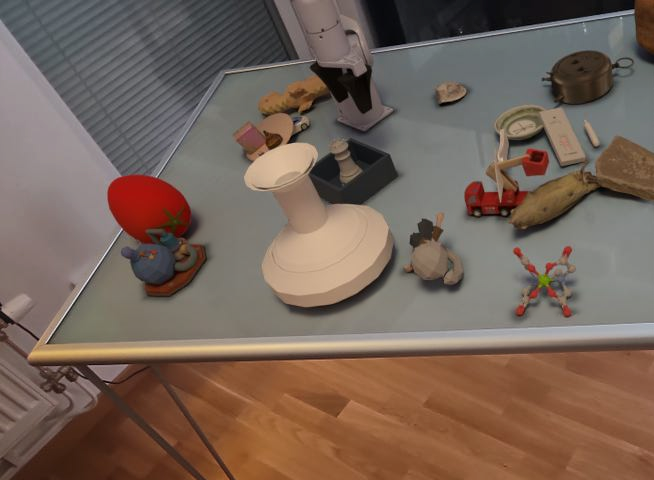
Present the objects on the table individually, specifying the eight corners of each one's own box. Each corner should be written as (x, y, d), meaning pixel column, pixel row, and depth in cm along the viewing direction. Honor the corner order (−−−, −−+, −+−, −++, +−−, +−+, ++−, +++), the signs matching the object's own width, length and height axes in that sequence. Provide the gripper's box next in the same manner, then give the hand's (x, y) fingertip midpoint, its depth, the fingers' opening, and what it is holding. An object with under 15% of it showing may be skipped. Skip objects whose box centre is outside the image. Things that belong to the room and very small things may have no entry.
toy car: (255, 148, 126) (249, 136, 124) (305, 120, 128) (300, 109, 126) (261, 154, 124) (255, 143, 122) (312, 126, 126) (307, 114, 124)
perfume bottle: (253, 172, 121) (236, 157, 117) (239, 139, 127) (223, 124, 124) (300, 135, 120) (285, 118, 116) (284, 103, 126) (269, 87, 122)
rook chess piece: (357, 191, 107) (339, 151, 101) (337, 188, 109) (319, 149, 103) (371, 175, 109) (354, 135, 103) (351, 173, 111) (333, 133, 105)
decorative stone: (710, 170, 90) (618, 166, 99) (706, 131, 85) (609, 131, 94) (683, 215, 86) (589, 206, 95) (677, 177, 81) (579, 172, 90)
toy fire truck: (471, 203, 98) (456, 150, 91) (555, 202, 94) (547, 147, 86) (466, 217, 96) (450, 164, 89) (551, 216, 92) (542, 161, 84)
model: (179, 297, 100) (143, 254, 93) (136, 295, 102) (97, 254, 95) (215, 246, 106) (184, 203, 99) (173, 246, 109) (140, 204, 102)
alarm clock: (556, 113, 109) (644, 87, 109) (554, 84, 105) (645, 57, 105) (540, 85, 116) (622, 62, 116) (537, 57, 112) (622, 32, 112)
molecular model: (523, 278, 85) (513, 237, 80) (580, 278, 83) (574, 236, 77) (513, 316, 81) (502, 276, 76) (573, 318, 79) (566, 276, 73)
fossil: (433, 106, 118) (464, 113, 120) (437, 86, 116) (468, 93, 117) (433, 92, 124) (462, 98, 126) (436, 73, 122) (466, 80, 123)
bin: (312, 193, 110) (302, 172, 107) (360, 158, 114) (350, 137, 111) (349, 213, 104) (339, 191, 101) (398, 176, 108) (389, 153, 104)
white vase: (274, 335, 89) (199, 234, 74) (280, 249, 102) (217, 148, 87) (405, 298, 88) (356, 187, 73) (395, 215, 101) (350, 107, 86)
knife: (497, 121, 103) (503, 119, 102) (506, 147, 105) (511, 145, 105) (486, 173, 82) (493, 171, 81) (496, 203, 84) (504, 201, 84)
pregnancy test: (561, 167, 98) (561, 161, 97) (538, 116, 104) (539, 110, 103) (605, 157, 99) (606, 152, 98) (580, 108, 105) (581, 102, 104)
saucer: (529, 110, 111) (527, 97, 110) (561, 129, 106) (560, 116, 104) (485, 135, 110) (483, 122, 108) (516, 155, 104) (514, 142, 102)
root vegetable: (520, 232, 84) (508, 247, 89) (621, 176, 92) (604, 192, 97) (500, 202, 85) (488, 218, 89) (601, 148, 92) (586, 166, 97)
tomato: (172, 186, 116) (219, 216, 111) (138, 235, 116) (183, 268, 110) (116, 148, 104) (164, 180, 99) (78, 204, 104) (124, 238, 99)
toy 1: (261, 118, 137) (340, 78, 140) (272, 130, 128) (356, 87, 131) (248, 94, 133) (329, 54, 137) (258, 105, 124) (345, 62, 128)
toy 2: (422, 189, 91) (437, 231, 79) (467, 215, 95) (489, 258, 83) (387, 247, 95) (397, 295, 83) (432, 269, 99) (448, 318, 87)
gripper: (368, 21, 93) (396, 104, 103) (319, 6, 102) (350, 84, 112) (331, 42, 91) (363, 125, 101) (285, 25, 99) (319, 103, 110)
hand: (354, 105), depth 107 cm, fingers open, 7 cm apart
